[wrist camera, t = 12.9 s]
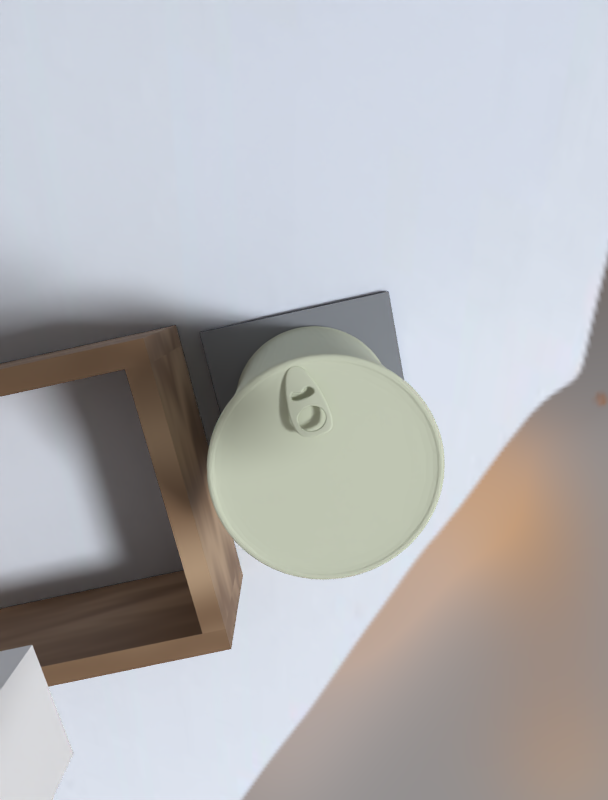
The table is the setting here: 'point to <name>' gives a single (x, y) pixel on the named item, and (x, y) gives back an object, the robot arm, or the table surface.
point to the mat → (353, 316)
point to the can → (324, 457)
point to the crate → (188, 514)
